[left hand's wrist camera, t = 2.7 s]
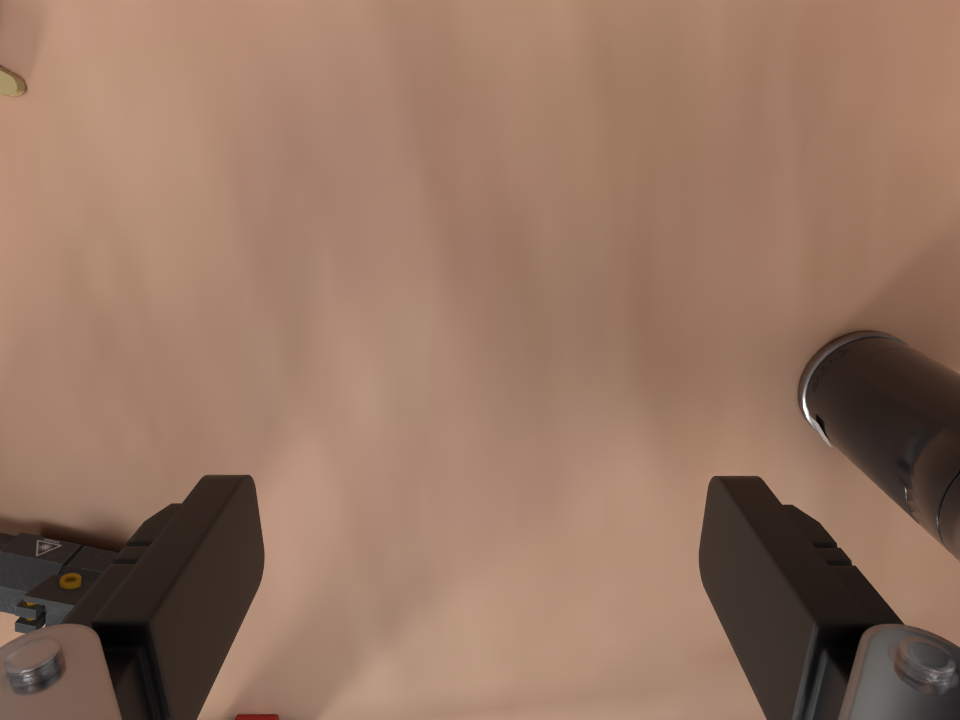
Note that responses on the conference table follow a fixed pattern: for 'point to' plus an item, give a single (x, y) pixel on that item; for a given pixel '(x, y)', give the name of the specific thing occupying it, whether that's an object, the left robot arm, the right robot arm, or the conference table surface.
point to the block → (257, 717)
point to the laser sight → (45, 577)
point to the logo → (10, 83)
